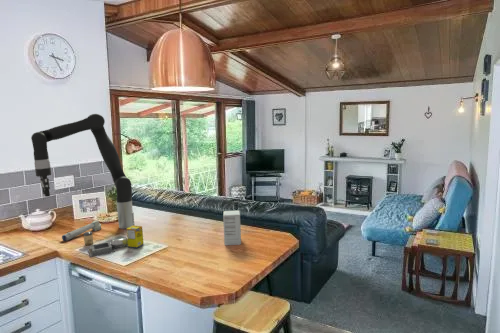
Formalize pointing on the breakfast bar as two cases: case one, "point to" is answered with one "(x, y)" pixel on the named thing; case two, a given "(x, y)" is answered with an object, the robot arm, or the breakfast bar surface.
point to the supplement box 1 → (135, 236)
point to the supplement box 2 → (232, 227)
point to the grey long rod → (82, 230)
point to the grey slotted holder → (107, 247)
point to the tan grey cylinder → (88, 238)
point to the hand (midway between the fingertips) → (46, 195)
